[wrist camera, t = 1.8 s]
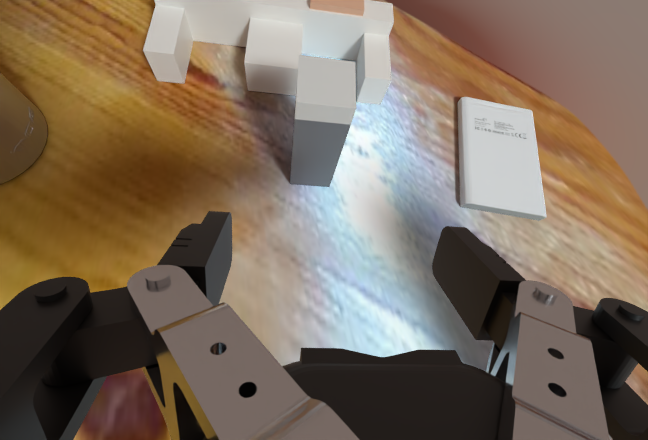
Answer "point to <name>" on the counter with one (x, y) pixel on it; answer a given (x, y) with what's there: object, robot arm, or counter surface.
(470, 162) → the external hard drive
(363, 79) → the socket strip
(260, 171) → the counter surface
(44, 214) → the counter surface
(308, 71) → the grey tall block
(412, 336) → the counter surface
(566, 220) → the counter surface
